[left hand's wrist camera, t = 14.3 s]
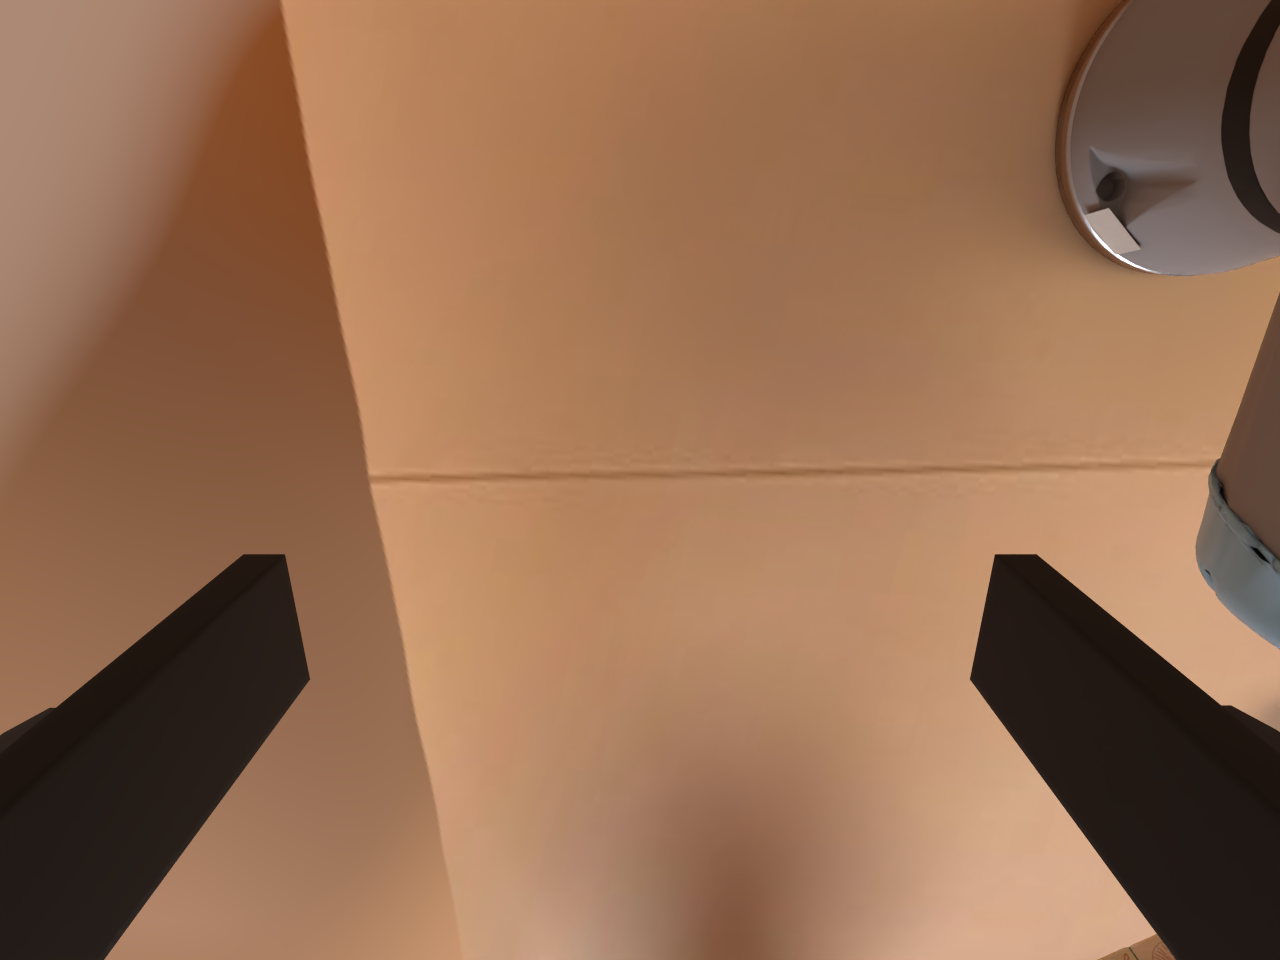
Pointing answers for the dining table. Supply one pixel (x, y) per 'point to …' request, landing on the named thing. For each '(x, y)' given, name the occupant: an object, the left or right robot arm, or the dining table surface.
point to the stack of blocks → (1143, 951)
